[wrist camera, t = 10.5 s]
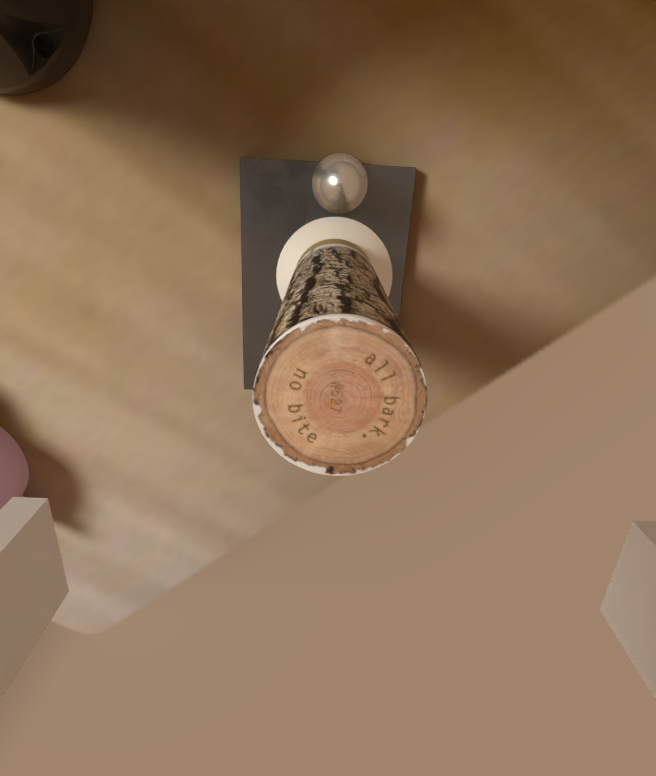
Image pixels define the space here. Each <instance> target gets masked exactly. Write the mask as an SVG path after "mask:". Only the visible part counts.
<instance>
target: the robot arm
mask: <svg viewBox="0 0 656 776" xmlns="http://www.w3.org/2000/svg"><path fill="white" fill-rule="evenodd" d="M92 9H93V0H0V94H3V95H22V94H28V93H32V92H36V91H39V90H41V89H44V88H46V87H48V86H50V85H51V84H53V83H55V82H56V81H57V80H59V79H60V78H61V77H62V76H63V75H64V74H65V73H66V72H67V71H68V70H69V69H70V68H71V67H72V65H73V64H74V63H75V61H76V60H77V58H78V56H79V55H80V53H81V51H82V49H83V46H84V44H85V42H86V38H87V35H88V32H89V28H90V23H91V18H92ZM68 592H69V589H68V585H67V580H66V576H65V572H64V567H63V563H62V558H61V554H60V549H59V545H58V541H57V536H56V532H55V527H54V523H53V518H52V514H51V510H50V505H49V501H48V498H29V497H12V498H11V499H10V500H9V501H8V503H7V504H6V505H5V506H4V507H3V508H2V509H1V510H0V700H1V698H2V697H3V695H4V694H5V692H6V690H7V689H8V687H9V685H10V684H11V682H12V681H13V679H14V678H15V676H16V675H17V673H18V671H19V670H20V668H21V666H22V665H23V663H24V662H25V660H26V659H27V657H28V655H29V654H30V652H31V651H32V649H33V647H34V646H35V644H36V643H37V641H38V640H39V638H40V636H41V635H42V633H43V632H44V630H45V628H46V627H47V625H48V623H49V622H50V620H51V619H52V617H53V616H54V614H55V612H56V611H57V609H58V608H59V606H60V604H61V603H62V601H63V600H64V598H65V597H66V595H67V593H68ZM600 611H601V613H602V614H603V616H604V617H605V619H606V620H607V622H608V624H609V625H610V627H611V628H612V630H613V631H614V633H615V635H616V636H617V638H618V640H619V641H620V643H621V645H622V646H623V648H624V649H625V651H626V652H627V654H628V656H629V657H630V659H631V660H632V662H633V664H634V665H635V667H636V668H637V670H638V672H639V673H640V675H641V677H642V678H643V680H644V681H645V683H646V684H647V686H648V688H649V689H650V690H651V692H652V694H653V696H654V697H655V699H656V522H653V521H632V524H631V527H630V530H629V532H628V535H627V538H626V540H625V543H624V546H623V548H622V551H621V554H620V557H619V559H618V562H617V565H616V567H615V570H614V573H613V576H612V578H611V581H610V584H609V586H608V589H607V592H606V594H605V597H604V600H603V602H602V605H601V608H600Z"/></svg>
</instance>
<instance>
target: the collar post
mask: <svg viewBox="0 0 656 776" xmlns="http://www.w3.org/2000/svg"><path fill="white" fill-rule="evenodd" d="M367 187H368V179H367V174H366V171H365V169H364V167H363V165H362V164H361V163H360V162H359V160H357V159H356V158H355V157H353V156H351V155H349V154H346V153H335V154H331V155H329V156H327V157H326V158H324V159H323V160H322V161H321V162H320V163H319V164H318V166H317V167H316V169H315V171H314V174H313V178H312V188H313V193H314V196H315V198H316V200H317V201H318V203H319V204H320V205H321V206H322V207H323V208H324V209H326V210H328V211H330V212H333V213H346V212H349V211H352V210H353V209H355V208H356V207H357V206H358V205H359V204H360V203H361V202H362V201H363V199H364V197H365V195H366V192H367Z"/></svg>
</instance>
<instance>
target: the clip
mask: <svg viewBox="0 0 656 776" xmlns="http://www.w3.org/2000/svg"><path fill="white" fill-rule="evenodd" d="M28 479H29V469H28V464H27V461H26V458H25V455H24V453H23V451H22V450H21V448H20V446H19V445H18V444H17V442H16V441H15V440H14V439H13V438H12V437H11V436H10V434H8V433H7V432H6V431H5V430H4V429H3V428H1V427H0V510H1V509H2V508H3V507H4V506H5V505H6V504H7V503H8V501H9V500H10V499H11V498H12V497H24V496H23V493H24V491H25V489H26V487H27V484H28Z"/></svg>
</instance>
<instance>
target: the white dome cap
mask: <svg viewBox="0 0 656 776" xmlns="http://www.w3.org/2000/svg"><path fill="white" fill-rule="evenodd" d="M326 239H343V240H347V241H349V242H351V243H353V244H355V245H357V246H358V247H359V248H360V249H362V251H363V252H364V253H365V254H366V255H367V257H368V258H369V260H370V262H371V264H372V266H373V268H374V270H375V272H376V274H377V276H378V278H379V280H380V282H381V284H382V286H383V288H384V290H385V292H386V294H387V296H389V293H390V290H391V285H392V265H391V260H390V257H389V254H388V251H387V249H386V247H385V246H384V244H383V242H382V241H381V240H380V238H379V237H378V236H377V235H376V234H375V233H374V232H373V231H372V230H371V229H370V228H368V227H367V226H365V225H364V224H362V223H360V222H358V221H355V220H353V219H349V218H345V217H325V218H320V219H317V220H314V221H312V222H309V223H307V224H306V225H304V226H302V227H301V228H300V229H298V230H297V231H296V232H295V233H294V234H293V235H292V236H291V237H290V238H289V240H288V241H287V243H286V244H285V246H284V248H283V250H282V251H281V254H280V257H279V260H278V264H277V272H276V279H277V287H278V291H279V295H280V298H281V300H282V302H283V299H284V296H285V294H286V291H287V288H288V286H289V283H290V280H291V278H292V275H293V272H294V270H295V268H296V265H297V263H298V261H299V259H300V257H301V256H302V254H303V253H304V252H305V251H306V250H307V249H308V248H309V247H310V246H312V245H313V244H315V243H317V242H319V241H322V240H326Z"/></svg>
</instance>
